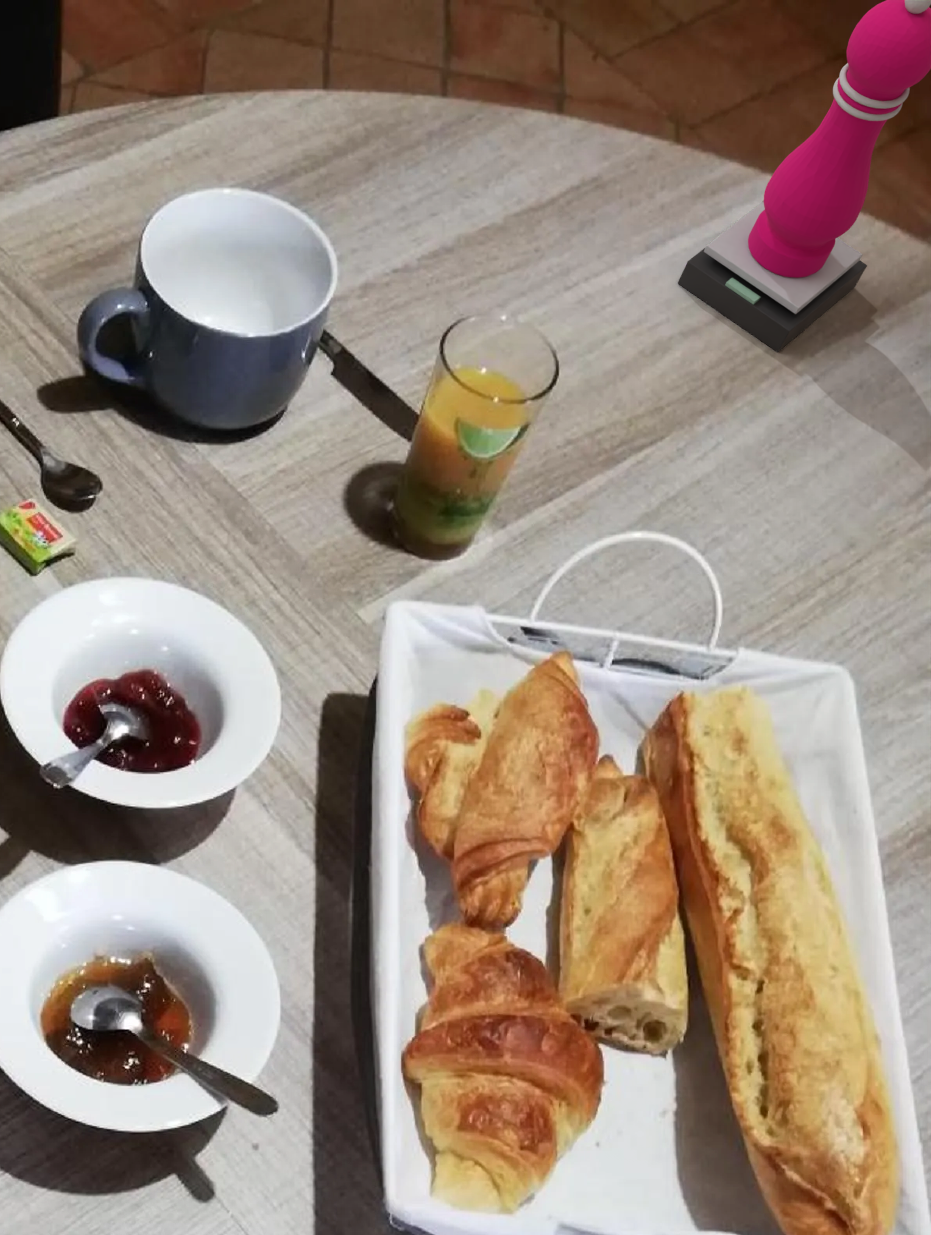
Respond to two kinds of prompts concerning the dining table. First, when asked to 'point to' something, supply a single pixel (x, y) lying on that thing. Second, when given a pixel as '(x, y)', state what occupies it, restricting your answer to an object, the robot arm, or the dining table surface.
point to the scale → (767, 285)
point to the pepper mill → (842, 142)
